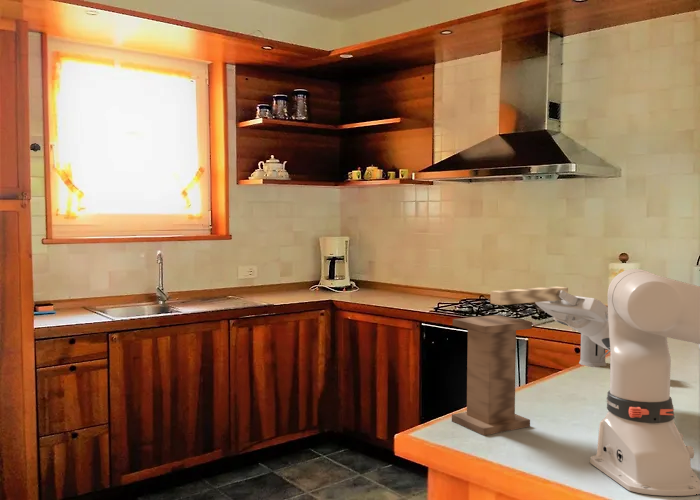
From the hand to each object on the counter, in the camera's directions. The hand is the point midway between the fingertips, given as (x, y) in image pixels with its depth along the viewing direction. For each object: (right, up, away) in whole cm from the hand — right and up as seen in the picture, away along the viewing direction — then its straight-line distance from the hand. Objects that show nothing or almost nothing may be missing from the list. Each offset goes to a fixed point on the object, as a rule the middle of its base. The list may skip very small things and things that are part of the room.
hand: (551, 291), depth 167 cm
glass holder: (+32, -28, +54) cm, 69 cm away
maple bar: (-6, -2, -3) cm, 7 cm away
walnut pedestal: (-17, -31, -8) cm, 36 cm away
